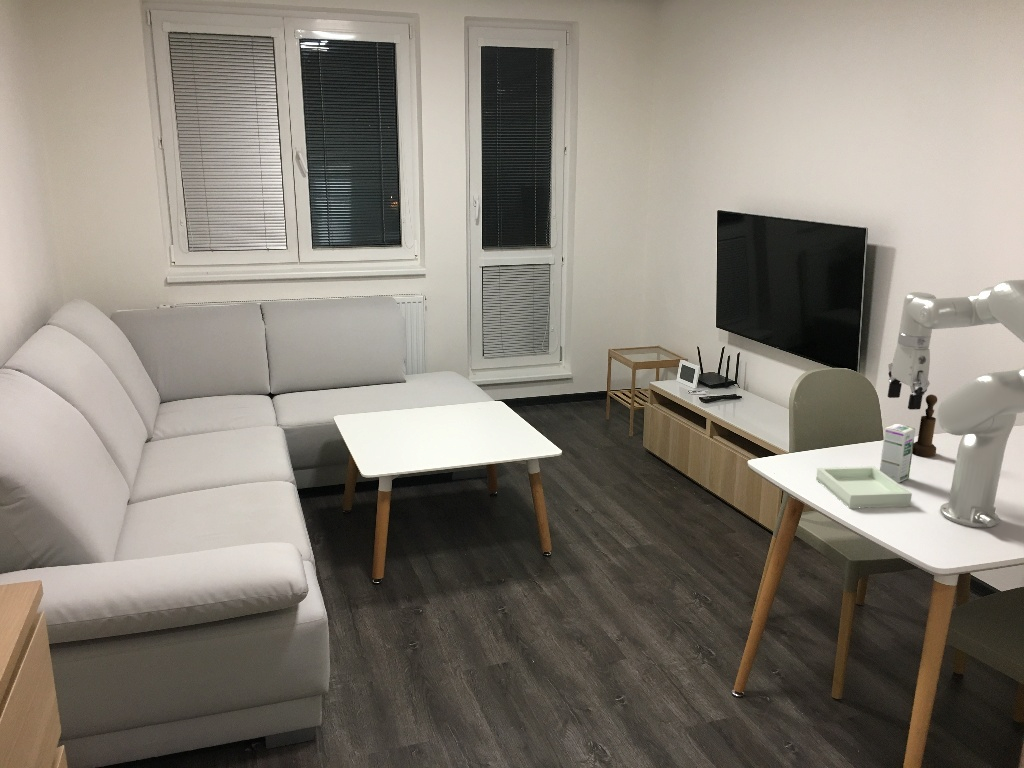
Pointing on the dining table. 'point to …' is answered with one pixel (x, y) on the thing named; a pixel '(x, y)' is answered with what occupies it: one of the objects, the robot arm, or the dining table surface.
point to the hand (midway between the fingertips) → (903, 403)
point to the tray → (863, 487)
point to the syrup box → (897, 452)
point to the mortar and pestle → (926, 431)
